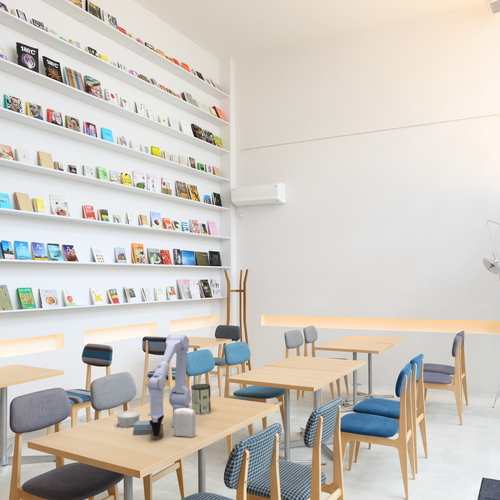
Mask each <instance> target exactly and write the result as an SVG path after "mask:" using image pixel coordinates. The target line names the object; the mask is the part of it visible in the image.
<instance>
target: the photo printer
mask: <svg viewBox="0 0 500 500" xmlns="http://www.w3.org/2000/svg"><path fill="white" fill-rule="evenodd" d="M173 436H174V437H175V436H176V437H184V438H185V437H186V438H194V437H196V414H195V411H194V410H192V409H189V408H179V409H176V410H175V411H174V427H173Z"/></svg>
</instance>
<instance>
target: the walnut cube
mask: <svg viewBox="0 0 500 500" xmlns="http://www.w3.org/2000/svg"><path fill="white" fill-rule="evenodd" d="M163 437H164V424H163V423H162V424H161V426H160V433H159V436H154V434H153V429H152V426H151V434H150V440H160V439H161V440H162V439H163Z"/></svg>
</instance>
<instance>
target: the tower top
mask: <svg viewBox="0 0 500 500" xmlns="http://www.w3.org/2000/svg"><path fill="white" fill-rule="evenodd" d="M150 420H151V419H150ZM150 420H139V421H137V422H136V423H135V424H134V426H133V430H149V429H150V428H151V424H150Z"/></svg>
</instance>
